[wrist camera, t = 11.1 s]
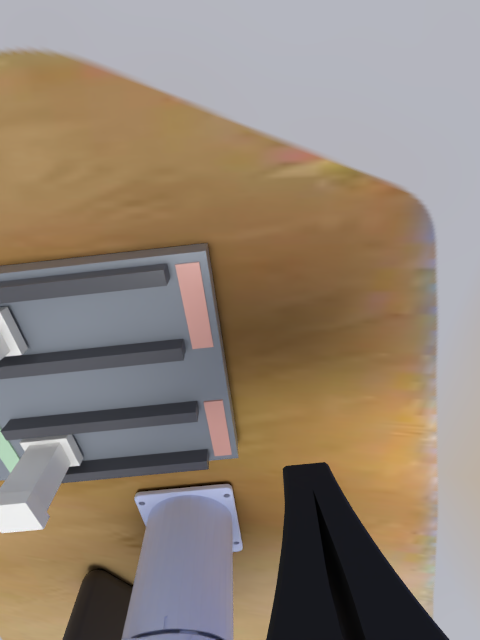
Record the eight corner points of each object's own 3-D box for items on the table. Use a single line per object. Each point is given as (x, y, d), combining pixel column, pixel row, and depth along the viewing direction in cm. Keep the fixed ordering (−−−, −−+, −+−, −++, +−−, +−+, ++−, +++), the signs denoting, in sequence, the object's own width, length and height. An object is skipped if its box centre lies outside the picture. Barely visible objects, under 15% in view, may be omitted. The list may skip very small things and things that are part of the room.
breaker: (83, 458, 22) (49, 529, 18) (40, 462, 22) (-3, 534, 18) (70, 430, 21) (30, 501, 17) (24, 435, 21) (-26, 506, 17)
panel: (237, 440, 24) (238, 470, 22) (3, 463, 25) (-20, 494, 22) (207, 243, 17) (204, 256, 15) (-121, 279, 17) (-172, 298, 15)
